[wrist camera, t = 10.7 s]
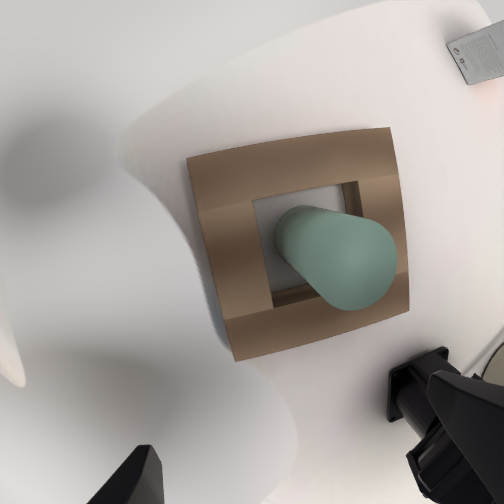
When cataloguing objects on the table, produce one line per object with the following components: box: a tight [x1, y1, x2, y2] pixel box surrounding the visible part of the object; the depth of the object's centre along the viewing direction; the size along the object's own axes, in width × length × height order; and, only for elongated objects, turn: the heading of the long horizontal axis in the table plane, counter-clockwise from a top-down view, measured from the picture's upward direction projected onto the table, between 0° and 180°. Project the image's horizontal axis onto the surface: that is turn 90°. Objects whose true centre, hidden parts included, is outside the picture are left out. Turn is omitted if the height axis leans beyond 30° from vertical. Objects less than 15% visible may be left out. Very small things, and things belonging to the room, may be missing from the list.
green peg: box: [275, 206, 398, 311], centre depth 17 cm, size 4×4×8 cm
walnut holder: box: [186, 127, 409, 362], centre depth 19 cm, size 12×12×2 cm
